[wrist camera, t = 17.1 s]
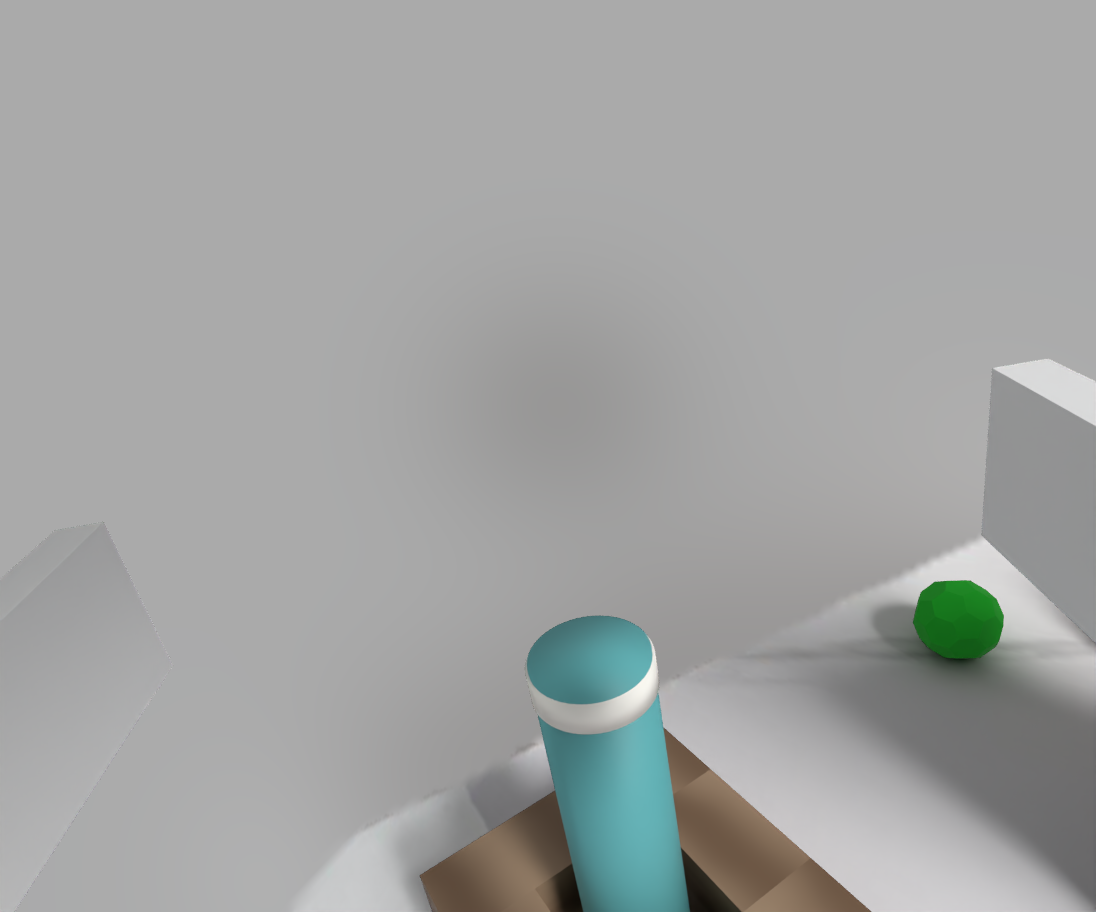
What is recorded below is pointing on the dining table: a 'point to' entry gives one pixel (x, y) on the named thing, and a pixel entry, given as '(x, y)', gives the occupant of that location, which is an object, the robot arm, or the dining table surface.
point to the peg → (609, 763)
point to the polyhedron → (958, 619)
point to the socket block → (706, 845)
